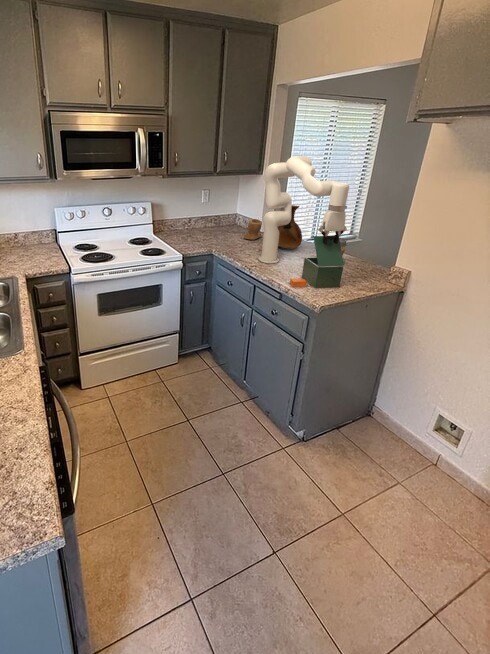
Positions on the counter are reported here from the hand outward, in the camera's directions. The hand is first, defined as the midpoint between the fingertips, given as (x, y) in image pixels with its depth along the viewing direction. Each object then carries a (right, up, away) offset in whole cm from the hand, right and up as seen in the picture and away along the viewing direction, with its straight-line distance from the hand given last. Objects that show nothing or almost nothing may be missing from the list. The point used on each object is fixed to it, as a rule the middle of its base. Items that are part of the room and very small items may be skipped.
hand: (330, 243), depth 184 cm
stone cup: (-17, +11, +91) cm, 93 cm away
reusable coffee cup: (+20, -9, +40) cm, 46 cm away
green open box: (0, -20, +11) cm, 23 cm away
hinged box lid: (0, -4, +2) cm, 4 cm away
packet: (-14, -22, +7) cm, 27 cm away
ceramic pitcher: (+1, +3, +70) cm, 70 cm away
